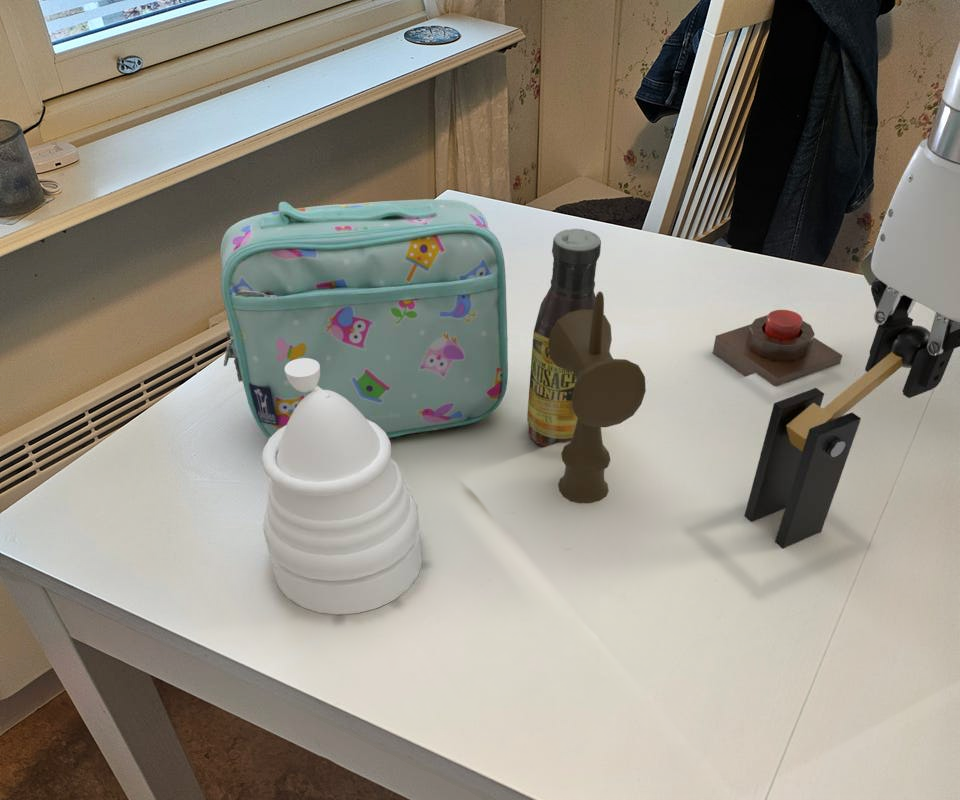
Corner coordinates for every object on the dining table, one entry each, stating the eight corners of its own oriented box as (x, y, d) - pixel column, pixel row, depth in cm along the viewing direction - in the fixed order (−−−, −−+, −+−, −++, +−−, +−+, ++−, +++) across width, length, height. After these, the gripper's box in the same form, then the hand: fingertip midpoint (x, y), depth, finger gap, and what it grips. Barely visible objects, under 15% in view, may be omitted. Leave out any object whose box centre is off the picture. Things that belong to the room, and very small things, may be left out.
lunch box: (246, 467, 87) (190, 248, 71) (242, 408, 94) (191, 196, 78) (513, 431, 91) (516, 214, 75) (491, 377, 98) (490, 167, 82)
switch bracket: (795, 485, 84) (833, 363, 75) (866, 541, 79) (916, 416, 69) (693, 527, 80) (719, 404, 71) (760, 589, 75) (798, 464, 66)
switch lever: (912, 338, 73) (911, 310, 70) (944, 356, 71) (943, 328, 68) (786, 443, 74) (780, 419, 71) (814, 463, 72) (808, 439, 69)
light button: (782, 321, 98) (786, 306, 96) (805, 336, 95) (810, 320, 94) (756, 330, 96) (760, 314, 95) (779, 345, 94) (783, 329, 93)
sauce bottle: (514, 440, 90) (518, 241, 75) (547, 410, 93) (557, 214, 78) (571, 462, 87) (586, 261, 72) (603, 430, 91) (624, 232, 76)
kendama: (564, 535, 80) (579, 327, 65) (538, 471, 86) (546, 267, 71) (629, 526, 81) (658, 318, 66) (598, 462, 87) (618, 259, 72)
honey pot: (245, 559, 78) (193, 376, 65) (361, 495, 84) (336, 314, 71) (332, 638, 72) (295, 453, 59) (452, 563, 78) (443, 378, 64)
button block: (774, 332, 103) (782, 299, 100) (837, 373, 97) (847, 339, 94) (712, 353, 100) (718, 320, 97) (772, 397, 94) (781, 362, 91)
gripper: (1142, 164, 56) (1015, 417, 69) (934, 89, 65) (859, 324, 79) (1061, 189, 53) (946, 446, 67) (858, 108, 63) (793, 346, 77)
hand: (899, 378), depth 73 cm, fingers open, 3 cm apart
